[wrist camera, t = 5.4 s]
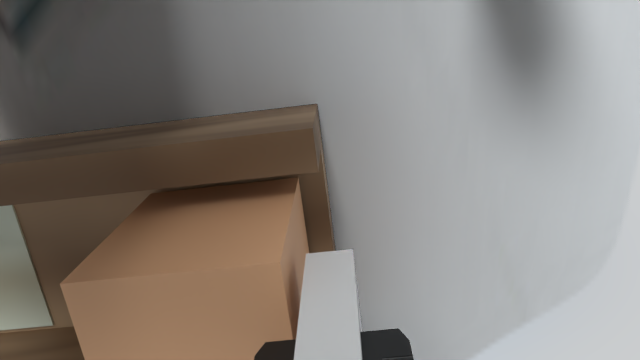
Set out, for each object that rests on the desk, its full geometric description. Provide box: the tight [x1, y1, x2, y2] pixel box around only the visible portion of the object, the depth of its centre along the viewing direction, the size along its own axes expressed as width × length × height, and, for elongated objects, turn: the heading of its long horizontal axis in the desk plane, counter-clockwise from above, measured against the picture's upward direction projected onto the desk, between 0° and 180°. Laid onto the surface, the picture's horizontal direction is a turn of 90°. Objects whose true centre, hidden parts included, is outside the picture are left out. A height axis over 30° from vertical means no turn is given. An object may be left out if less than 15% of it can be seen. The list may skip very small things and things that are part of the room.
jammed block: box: [60, 178, 309, 360], centre depth 17 cm, size 5×6×7 cm
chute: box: [0, 104, 336, 360], centre depth 21 cm, size 10×22×4 cm, turn 97°
